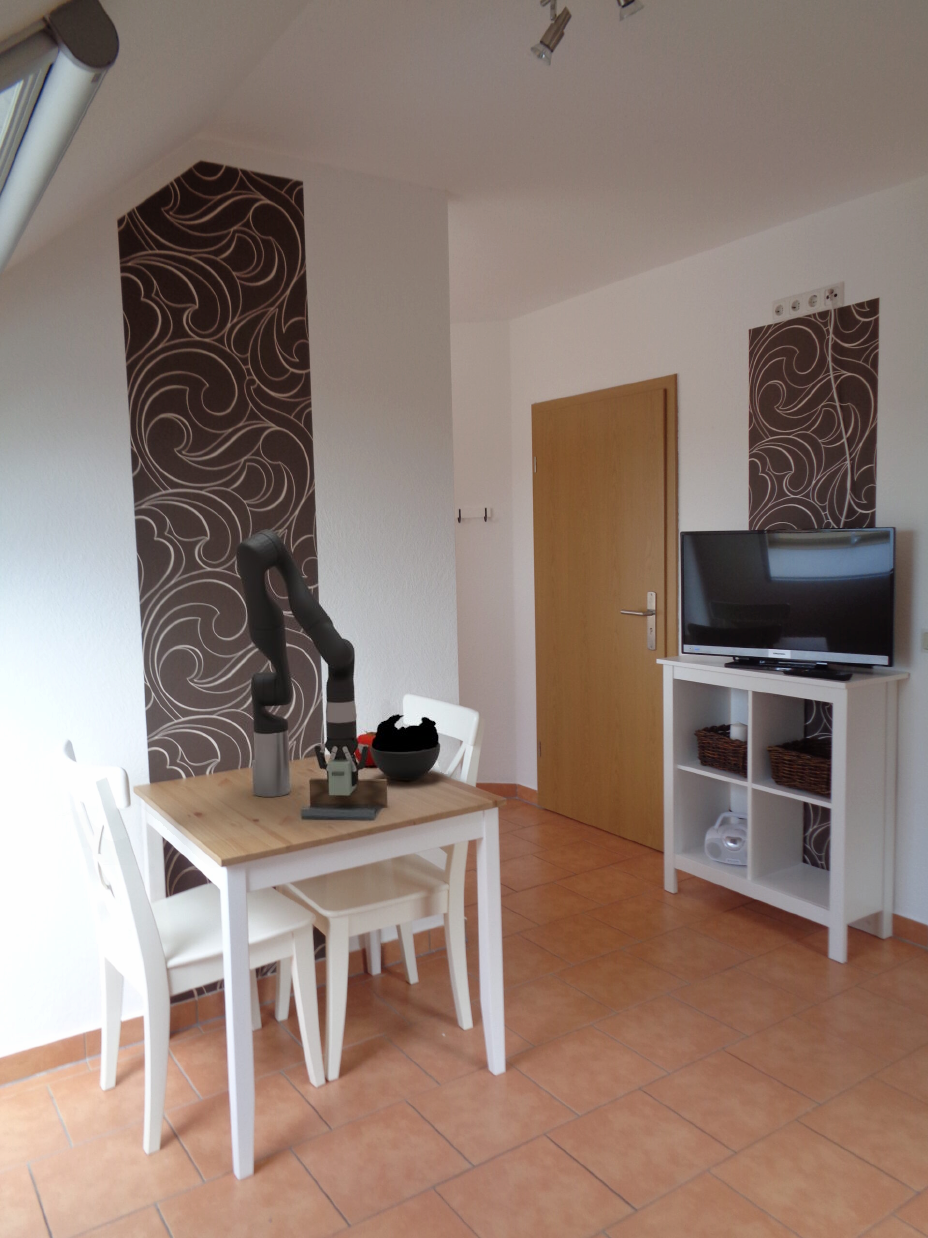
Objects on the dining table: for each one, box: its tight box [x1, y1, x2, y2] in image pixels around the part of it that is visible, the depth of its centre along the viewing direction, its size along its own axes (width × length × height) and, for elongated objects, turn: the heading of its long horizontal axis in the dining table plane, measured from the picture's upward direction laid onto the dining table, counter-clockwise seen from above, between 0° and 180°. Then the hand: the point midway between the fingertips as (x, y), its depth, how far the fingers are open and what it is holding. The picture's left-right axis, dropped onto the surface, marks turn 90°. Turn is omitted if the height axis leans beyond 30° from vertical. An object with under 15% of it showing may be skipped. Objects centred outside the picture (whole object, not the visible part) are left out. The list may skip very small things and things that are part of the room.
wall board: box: [308, 777, 388, 809], centre depth 233 cm, size 20×2×7 cm, turn 83°
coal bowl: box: [370, 713, 441, 782], centre depth 259 cm, size 20×20×19 cm
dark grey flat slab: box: [300, 804, 383, 821], centre depth 227 cm, size 18×11×2 cm, turn 83°
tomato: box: [354, 730, 377, 767], centre depth 279 cm, size 12×12×10 cm
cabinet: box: [327, 756, 356, 795], centre depth 227 cm, size 5×9×8 cm, turn 173°
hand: (343, 785), depth 228 cm, fingers closed on cabinet, 5 cm apart
